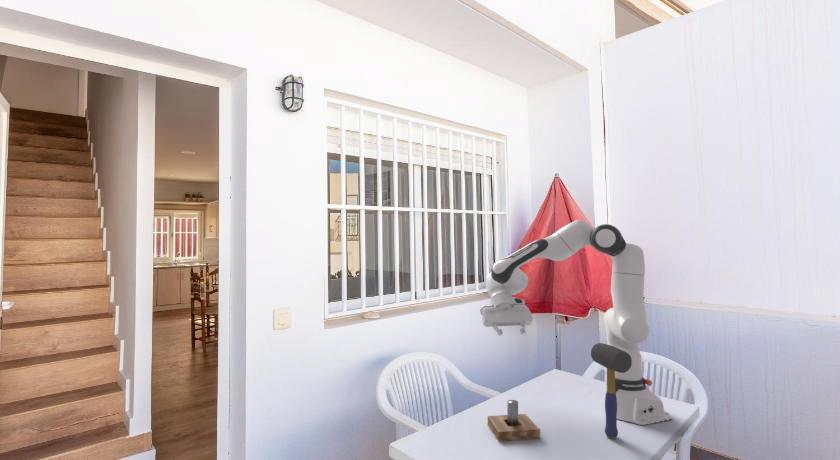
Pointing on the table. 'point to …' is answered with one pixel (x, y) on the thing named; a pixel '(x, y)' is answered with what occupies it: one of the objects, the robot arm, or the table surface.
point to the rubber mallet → (611, 379)
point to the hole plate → (513, 428)
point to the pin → (512, 413)
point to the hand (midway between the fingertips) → (512, 334)
